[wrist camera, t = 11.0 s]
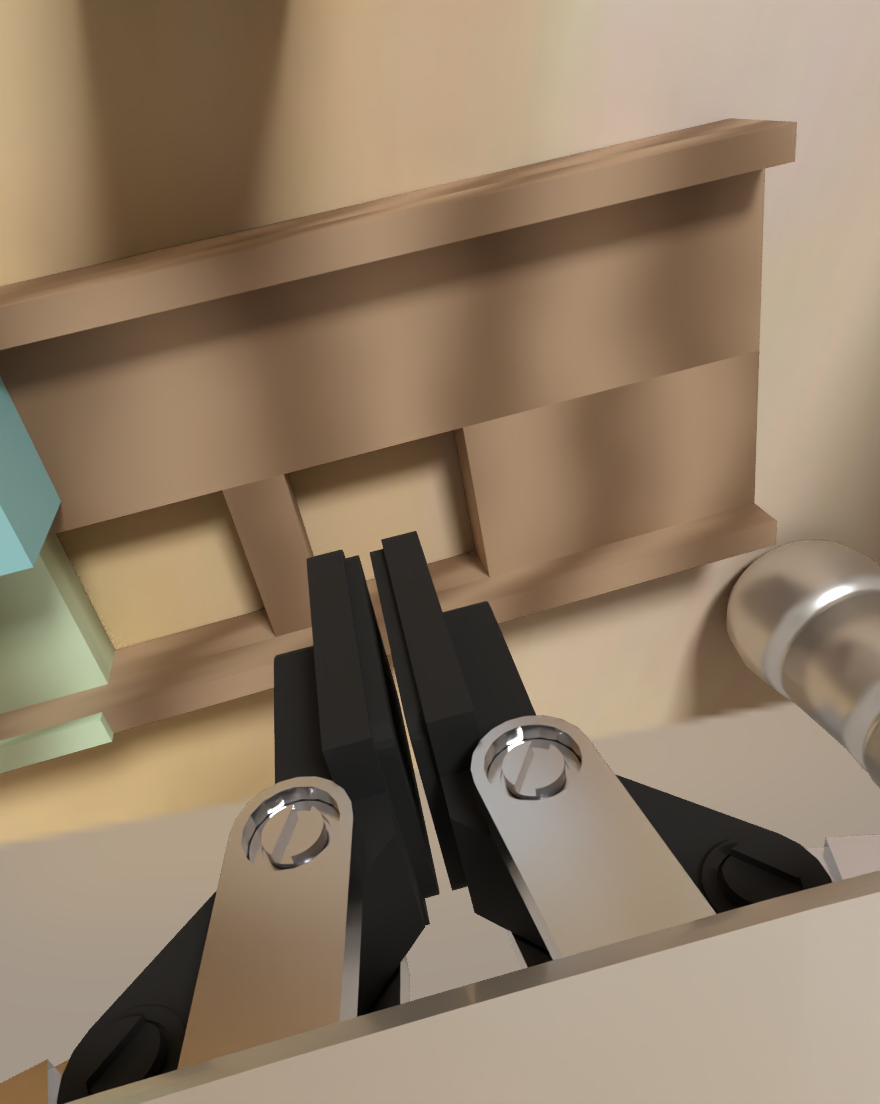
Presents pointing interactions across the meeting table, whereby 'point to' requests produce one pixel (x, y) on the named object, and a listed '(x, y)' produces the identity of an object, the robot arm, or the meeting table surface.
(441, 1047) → the robot arm
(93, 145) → the meeting table surface
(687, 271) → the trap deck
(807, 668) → the plastic bottle
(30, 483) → the block
